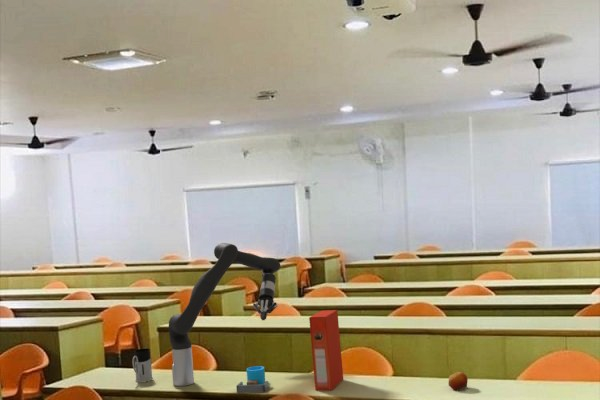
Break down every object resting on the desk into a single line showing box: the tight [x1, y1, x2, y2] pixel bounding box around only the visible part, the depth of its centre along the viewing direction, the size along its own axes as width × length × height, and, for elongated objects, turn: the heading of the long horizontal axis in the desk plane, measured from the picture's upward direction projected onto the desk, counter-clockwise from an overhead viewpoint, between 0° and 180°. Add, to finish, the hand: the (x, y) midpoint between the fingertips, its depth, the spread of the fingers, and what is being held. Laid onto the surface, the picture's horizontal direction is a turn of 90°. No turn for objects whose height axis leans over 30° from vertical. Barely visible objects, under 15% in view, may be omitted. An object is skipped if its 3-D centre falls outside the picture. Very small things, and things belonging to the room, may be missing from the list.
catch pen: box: [235, 380, 270, 393], centre depth 292 cm, size 13×6×3 cm, turn 79°
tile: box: [246, 380, 258, 385], centre depth 292 cm, size 4×4×4 cm
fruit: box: [448, 371, 469, 391], centre depth 270 cm, size 8×8×8 cm
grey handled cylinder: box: [131, 348, 154, 383], centre depth 323 cm, size 9×14×15 cm, turn 166°
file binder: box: [308, 309, 344, 391], centre depth 291 cm, size 8×17×32 cm, turn 160°
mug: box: [246, 365, 266, 385], centre depth 300 cm, size 12×8×8 cm
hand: (263, 319), depth 325 cm, fingers closed
